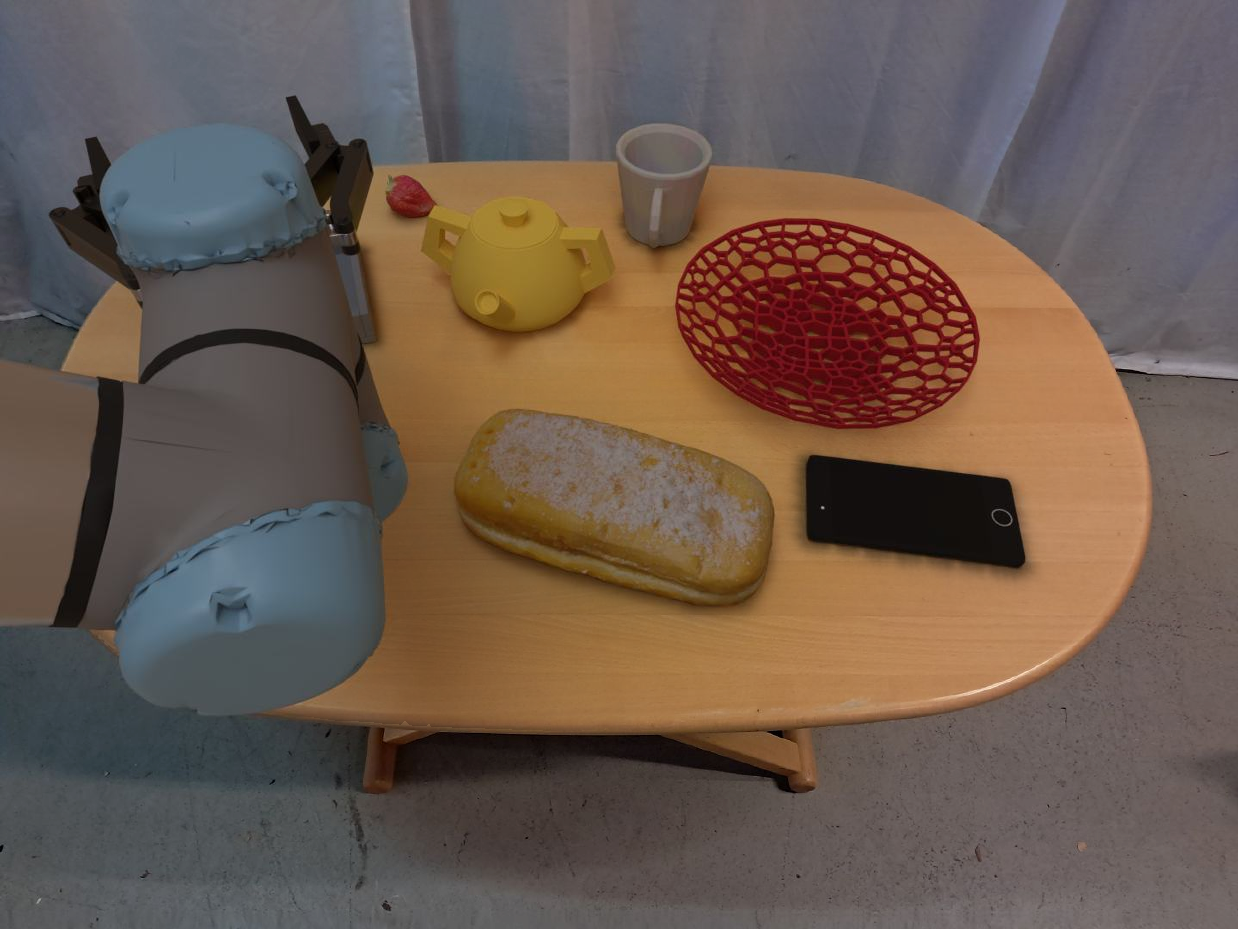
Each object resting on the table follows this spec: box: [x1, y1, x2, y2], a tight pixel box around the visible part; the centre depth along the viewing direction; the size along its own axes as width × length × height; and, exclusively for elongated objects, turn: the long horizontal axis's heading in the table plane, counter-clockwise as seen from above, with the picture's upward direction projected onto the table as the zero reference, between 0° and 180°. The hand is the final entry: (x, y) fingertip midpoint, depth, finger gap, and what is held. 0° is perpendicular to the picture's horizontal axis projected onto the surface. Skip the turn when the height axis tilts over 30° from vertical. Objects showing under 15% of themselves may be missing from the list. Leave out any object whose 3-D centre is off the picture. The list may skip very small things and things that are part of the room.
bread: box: [453, 408, 776, 608], centre depth 65 cm, size 13×26×8 cm, turn 76°
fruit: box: [384, 173, 438, 218], centre depth 92 cm, size 4×6×5 cm
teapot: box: [420, 196, 616, 333], centre depth 80 cm, size 20×18×11 cm
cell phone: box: [805, 454, 1026, 569], centre depth 70 cm, size 9×18×1 cm, turn 82°
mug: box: [615, 122, 714, 249], centre depth 88 cm, size 10×15×10 cm
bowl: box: [674, 217, 981, 430], centre depth 80 cm, size 29×30×5 cm
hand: (201, 133), depth 58 cm, fingers open, 13 cm apart
